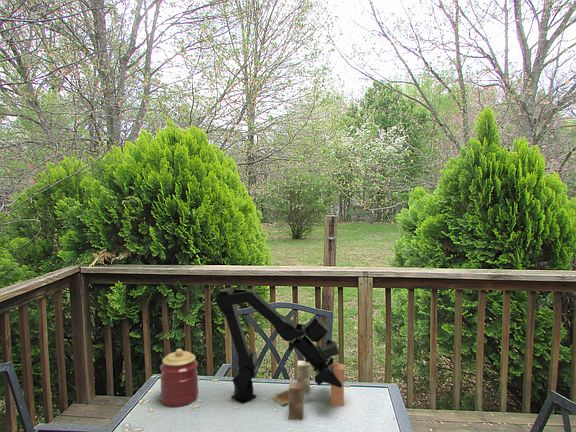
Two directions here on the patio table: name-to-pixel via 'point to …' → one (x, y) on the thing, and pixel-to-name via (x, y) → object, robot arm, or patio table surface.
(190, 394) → the canister
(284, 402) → the shard
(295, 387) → the walnut block
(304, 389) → the birch block
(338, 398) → the salmon orange block
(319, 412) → the patio table surface
